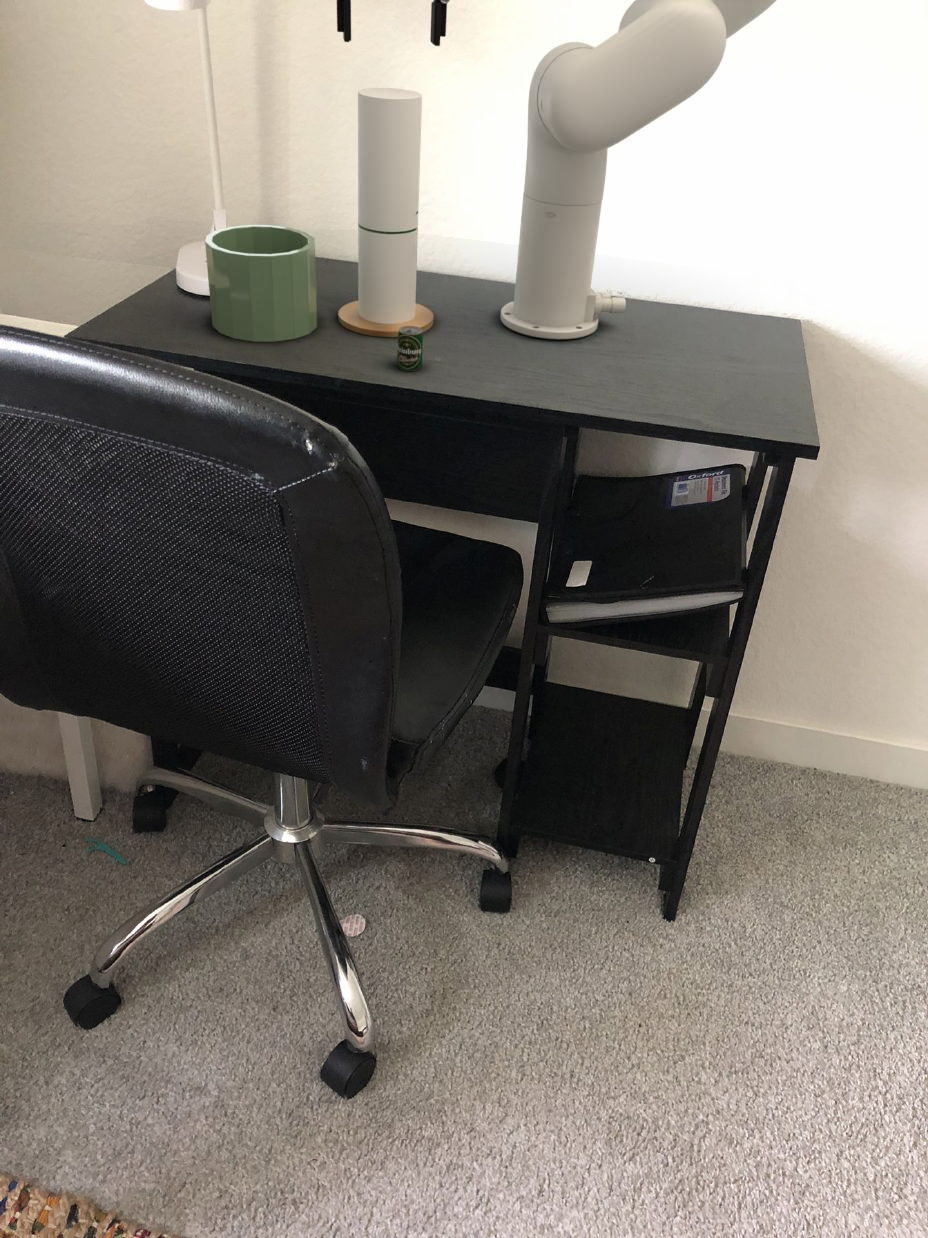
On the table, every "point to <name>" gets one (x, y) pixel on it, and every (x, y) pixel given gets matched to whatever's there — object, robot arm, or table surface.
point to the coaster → (357, 324)
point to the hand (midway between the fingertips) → (391, 42)
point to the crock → (262, 282)
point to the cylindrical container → (388, 203)
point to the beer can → (410, 348)
